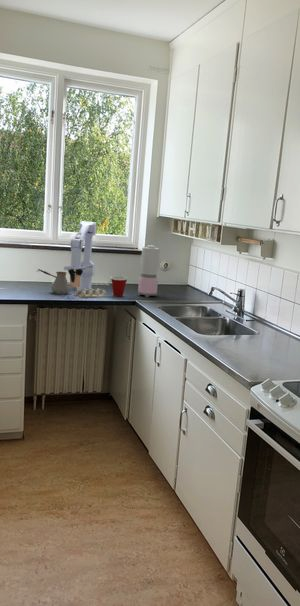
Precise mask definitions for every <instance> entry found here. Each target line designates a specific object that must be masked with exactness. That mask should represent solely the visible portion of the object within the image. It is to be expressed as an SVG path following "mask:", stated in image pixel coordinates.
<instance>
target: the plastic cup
mask: <svg viewBox="0 0 300 606" xmlns="http://www.w3.org/2000/svg"><path fill="white" fill-rule="evenodd" d="M110 280H111V285H112V286H111V287H112V294H113V297H116V296H117V297H119V298H122V297H123V296H124V291H125V288H126V284H127V280H128V277H127V276H124V275H113V276H110ZM121 296H122V297H121Z"/></svg>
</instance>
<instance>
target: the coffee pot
mask: <svg viewBox="0 0 300 606" xmlns="http://www.w3.org/2000/svg"><path fill="white" fill-rule="evenodd" d="M39 272H40V273H41V272H42V273H43V274H45V275H48V276H51V277H53V278H55V279H54V281H53V283H52V286H51V291H52V292H53V293H54V294H56V295H67V294H68V293H69V292H70V291H71V287H70V283H69V282H68V279H67V277H66V275H67V273H68V272H67V271H56V272H55V273H56V275H53V274H51V273H49V272H48V271H45V270H42V269H39V268H38V269H37V273H39Z"/></svg>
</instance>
